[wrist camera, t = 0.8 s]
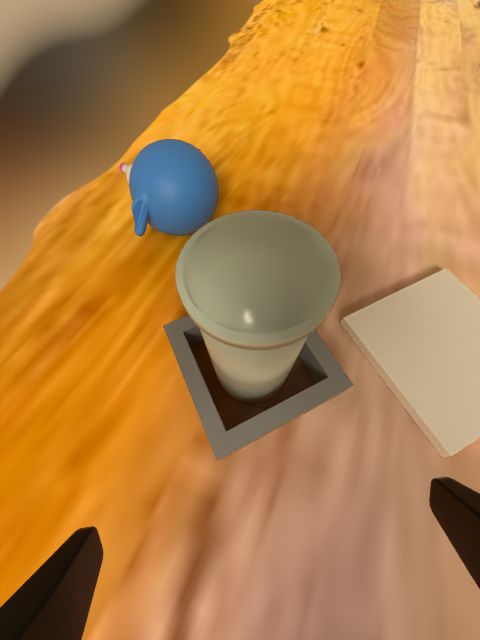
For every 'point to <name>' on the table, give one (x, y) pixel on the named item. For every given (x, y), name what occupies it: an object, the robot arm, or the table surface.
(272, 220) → the grey domed cup
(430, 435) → the plate
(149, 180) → the blue mole toy
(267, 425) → the holder
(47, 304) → the table surface
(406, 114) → the table surface
